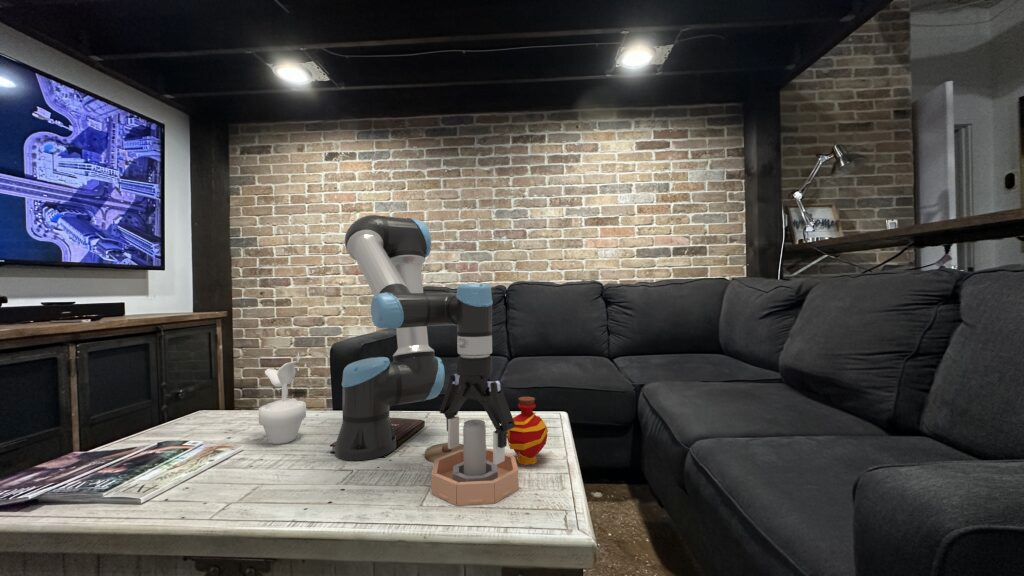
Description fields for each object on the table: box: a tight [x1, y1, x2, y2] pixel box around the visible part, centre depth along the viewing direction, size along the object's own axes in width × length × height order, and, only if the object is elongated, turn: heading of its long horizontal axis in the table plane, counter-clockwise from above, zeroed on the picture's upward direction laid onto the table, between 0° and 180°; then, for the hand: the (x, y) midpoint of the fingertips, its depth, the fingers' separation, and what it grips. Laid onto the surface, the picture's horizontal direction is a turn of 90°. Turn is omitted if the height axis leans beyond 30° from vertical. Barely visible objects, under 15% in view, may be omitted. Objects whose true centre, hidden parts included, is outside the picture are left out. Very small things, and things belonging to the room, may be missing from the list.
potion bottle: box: [507, 396, 549, 466], centre depth 102 cm, size 10×10×15 cm
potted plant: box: [258, 351, 308, 445], centre depth 116 cm, size 13×12×25 cm
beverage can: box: [462, 419, 487, 476], centre depth 89 cm, size 5×5×12 cm
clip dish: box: [431, 448, 519, 506], centre depth 89 cm, size 18×18×4 cm
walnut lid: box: [424, 442, 463, 464], centre depth 105 cm, size 11×11×3 cm
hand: (475, 454), depth 89 cm, fingers open, 13 cm apart
